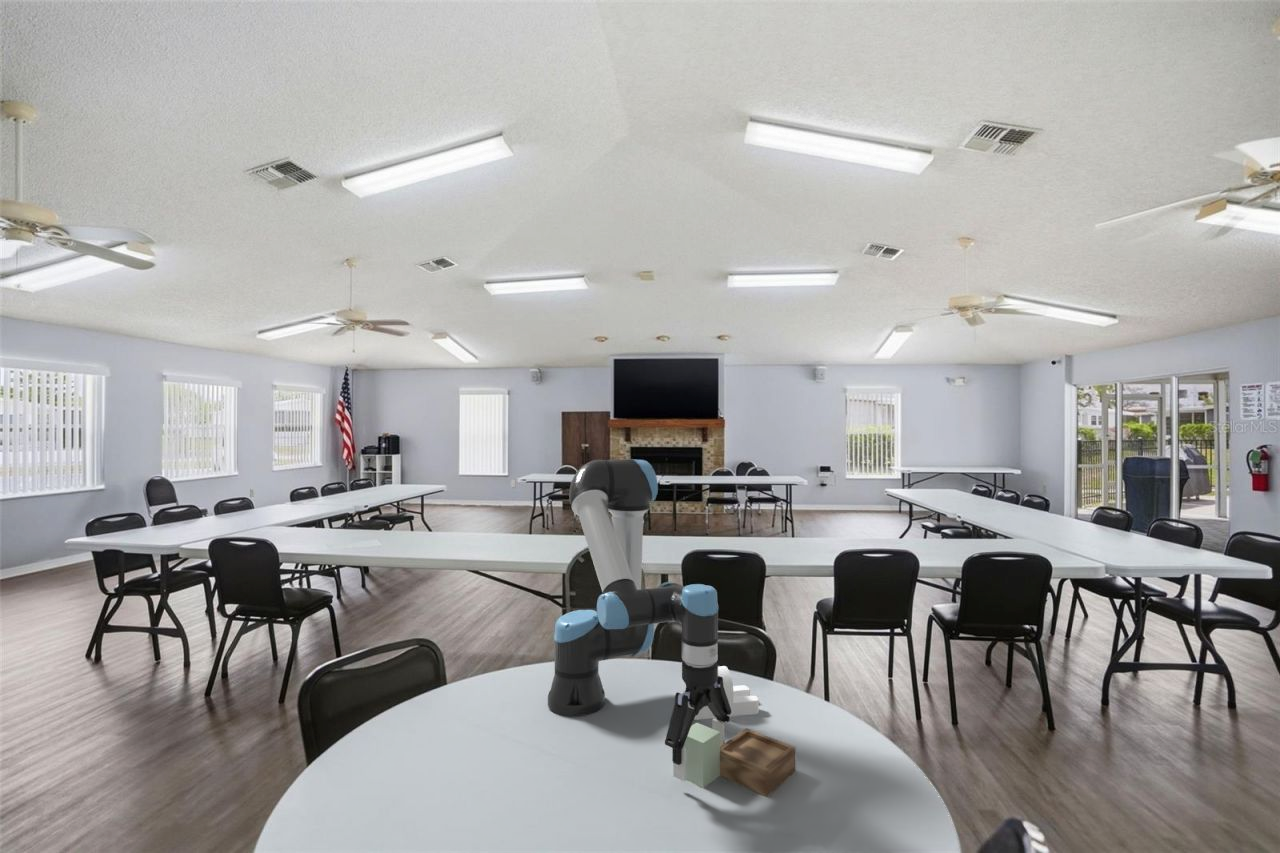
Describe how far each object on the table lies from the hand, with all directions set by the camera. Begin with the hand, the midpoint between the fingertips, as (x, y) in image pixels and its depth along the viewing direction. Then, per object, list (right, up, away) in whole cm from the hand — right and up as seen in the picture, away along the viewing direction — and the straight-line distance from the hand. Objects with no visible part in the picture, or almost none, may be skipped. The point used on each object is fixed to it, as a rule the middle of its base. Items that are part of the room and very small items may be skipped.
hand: (700, 764), depth 121 cm
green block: (0, -2, 0) cm, 2 cm away
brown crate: (+12, -2, +1) cm, 12 cm away
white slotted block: (+9, -4, +30) cm, 32 cm away
